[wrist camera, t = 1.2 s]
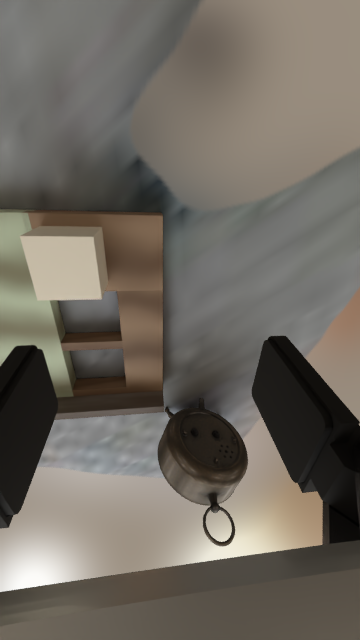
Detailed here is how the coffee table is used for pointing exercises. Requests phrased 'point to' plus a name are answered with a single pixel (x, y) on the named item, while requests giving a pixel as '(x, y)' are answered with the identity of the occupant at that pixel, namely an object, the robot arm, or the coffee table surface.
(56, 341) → the box
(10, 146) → the coffee table surface
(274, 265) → the coffee table surface
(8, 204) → the coffee table surface
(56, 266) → the block
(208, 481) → the alarm clock
